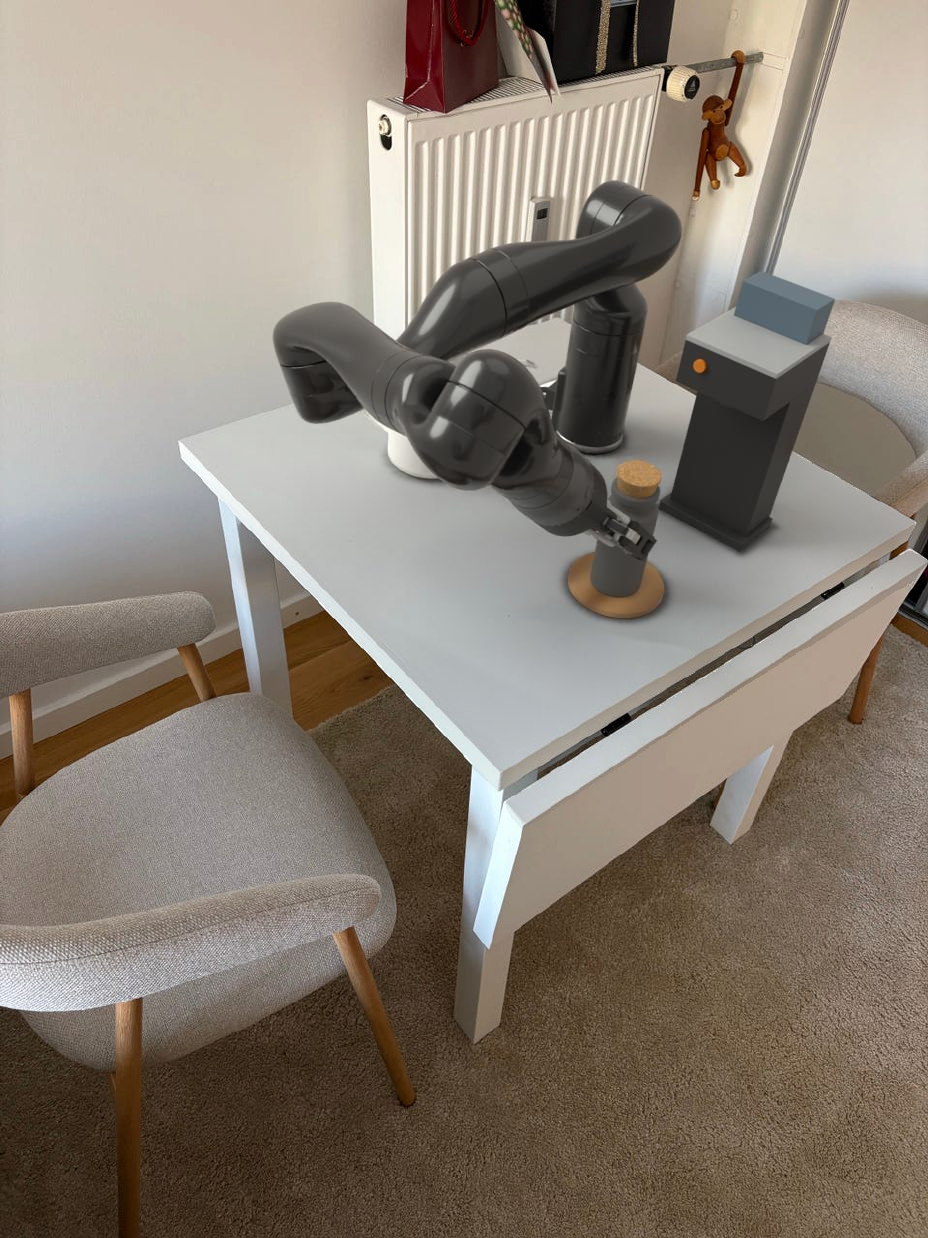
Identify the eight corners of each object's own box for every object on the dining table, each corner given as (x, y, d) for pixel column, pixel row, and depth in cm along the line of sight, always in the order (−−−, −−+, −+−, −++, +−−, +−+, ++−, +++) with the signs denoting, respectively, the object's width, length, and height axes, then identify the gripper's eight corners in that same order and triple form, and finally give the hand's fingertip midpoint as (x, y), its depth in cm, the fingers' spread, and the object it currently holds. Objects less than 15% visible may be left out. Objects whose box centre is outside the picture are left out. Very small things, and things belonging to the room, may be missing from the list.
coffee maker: (719, 570, 117) (791, 340, 97) (636, 524, 122) (688, 298, 102) (770, 526, 124) (848, 303, 104) (690, 484, 130) (749, 265, 109)
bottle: (638, 602, 111) (666, 493, 100) (586, 592, 111) (608, 483, 101) (642, 569, 115) (668, 461, 105) (592, 560, 115) (614, 452, 105)
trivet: (550, 592, 112) (551, 587, 112) (594, 543, 119) (595, 538, 119) (638, 632, 108) (639, 627, 108) (677, 579, 115) (679, 574, 115)
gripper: (474, 486, 93) (536, 530, 108) (594, 556, 87) (643, 593, 101) (515, 417, 93) (573, 471, 107) (639, 483, 86) (683, 530, 100)
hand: (607, 530), depth 104 cm, fingers open, 8 cm apart
